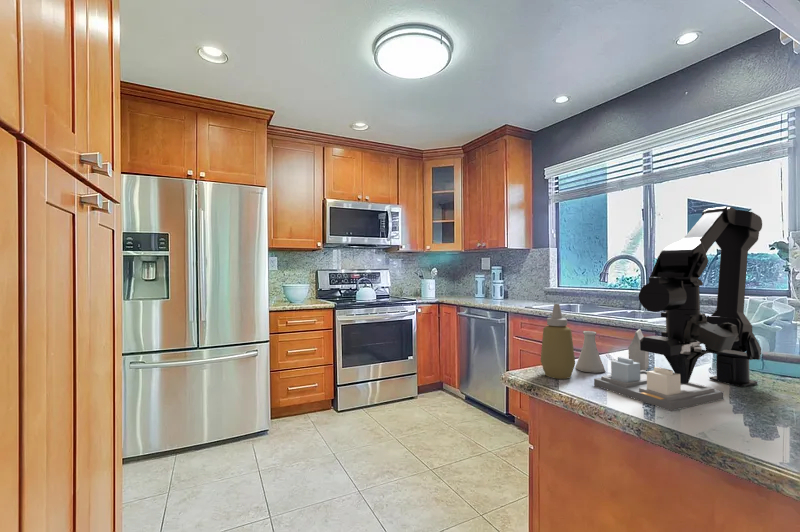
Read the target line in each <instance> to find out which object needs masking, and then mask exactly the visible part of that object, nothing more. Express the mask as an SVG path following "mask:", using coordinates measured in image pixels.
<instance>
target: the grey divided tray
mask: <svg viewBox="0 0 800 532" xmlns="http://www.w3.org/2000/svg"><path fill="white" fill-rule="evenodd" d="M647 371H648V370H647ZM647 371H645V370H640V379H641V380H638V381H633V382H627V383H625V382H622V381H618V380H615V379H612V378H611V374H610V375H603V376H600V377H596V378H594V379H593V380H594V381H593V382H594V383H593V386H595V385H596V387H598V386H599V387H598V388H601V387H602V388H601V389H604V388H605V390H607V389H608V390H607V391H610V390H611V391H610V392H613V391H614V393H616V392H617V393H616V394H619V393H620V394H619V395H622V394H623V395H622V396H625V395H626V396H625V397H628V396H629V397H628V398H631V397H632V399H634V398H635V399H634V400H638V401H640V402H643V403H646V404H649V405H652V406H654V405H655V406H654V407H657V406H658V408H660V407H661V408H660V409H663V408H664V409H663V410H667V411H668V412H669V411H670V412H673V411H677V410H682V409H686V408H690V407H695V406H700V405H705V404H708V403H713V402H717V401H721V400H724V398H725V397H724V391H721V390H718V389H716V388H714V387H712V386H707V385H703V384H699V383H695V382H691V381H689V382H688V384H682V383H681V393H679V394H674V395H669V396H668V395H665V394H662V393H658V392H655V391H652V390H648V389H647Z"/></svg>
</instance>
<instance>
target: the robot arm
mask: <svg viewBox="0 0 800 532" xmlns="http://www.w3.org/2000/svg"><path fill="white" fill-rule="evenodd" d="M762 229H763V220H762V218H761V216H760V215H759V214H756V213H755V212H754V211H748V210H742V209H737V208H734V207H730V206H720V207H713V208H712V207H711V208H707V209H704V210H703V211H702V213H701V217H700V218H699V220H698V221H697V222H696V223H695V224H694V225H693V226H692V228H691V229H690V230H689V231H688V232H687V234H686V235H685V236H684V237H683V238H682V239H681V240H679V241H676V242H673V243H671V244H668V245H667V246H666V247H665V248H664V249H662V250H661V251H660V253H659V255H658V256H657V259H656V261H655V264H654V266H653V268H652V270H651V273H650V276H649V277H648V283H646V284H644V285H643V286H642V287H641V288H640V291H639V293H638V300H639V303H640V305H641V306H642V307H643V308H644V309H645V310H647V311H649V312H655V313H656V312H657V313H658V312H660V318H663V319H664V318H665V329H666V330H665V331H660V332H661V333H660V334H661V335H659V336H658V335H649V336H644V337H643V338H642V339H641V340H640V350H641V351H646V352H649V353H652V354H657V355H661V356H664V358H665V359H666V361H667V362H668V364H669V366H670V367H671V369H672V370H673V373H677V374H680V383H682V384H688V382H690V380H691V376H692V373H693V372H694V368H695V365H696V364H697V361H698V360H699V359H700V358H701V357H702V356H704V355H706V354H714V355H715V354H716V355H715V356H716V358H715V359H716V375H714V376H713V375H712V376H708V377H709V379H708V380H711V381H715V382H720V383H724V384H728V385H732V386H736V387H740V388H743V387H747V386H752V385H758V381H757V380H753V379H750V361H752V360H756V361H757V360H758V361H759V360H761V355H762V347H761V345H760V344H759V342H758V340H757V338H756V337H755V336H756V335H754V332H753V325H752V322H750V321H749V319H748V317H747V316H746V314H745V296H746V295H745V294H746V284H747V283H746V282H747V267H748V255H749V254H748V253H749V251H750V249H751V248H752V247H753V246H754V245H755V244H756V243H757V242H758V240H759V237H760V232H761V231H762ZM714 243H716V245H717V246H718V247H719V249H720V257H719V270H718V271H719V272H718V286H717V297H716V298H717V299H716V300H717V301H716V310H715V311H714V312H713V313H712V314H711V315H706V313H702V312H701V309H700V308H701V304H700V303H701V299H700V298H701V297H700V294H701V293H700V286H703V285H704V282H703V281H702V280H701V279H700V277H701V276H702V274H703V272H704V271H705V269H706V268H707V266H708V262H709V259H708V257H707V253H708V251H709V250H710V248H711V247H712V246H713V245H714ZM702 345H704V347H705V349H703V347H702Z"/></svg>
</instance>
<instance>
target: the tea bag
mask: <svg viewBox="0 0 800 532" xmlns="http://www.w3.org/2000/svg"><path fill="white" fill-rule="evenodd" d="M643 337H645V336H644V334H643V332H642V330H641V329H640V328H639V329H637V330H636V331H635V332H634V336H633V339H632V340H631V342H630V344H629V345H628V359H631V360H633V362H637V363H640V370H645V371H646V370H647V371H648V369H649V367H650V358H649V353H650V352H646V351H641V350H640V340H641V339H642V338H643Z"/></svg>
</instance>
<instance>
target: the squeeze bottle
mask: <svg viewBox="0 0 800 532" xmlns="http://www.w3.org/2000/svg"><path fill="white" fill-rule="evenodd" d="M546 324H547V326H545V327H543V328H542V329H543V330H542V339H541V351H540V363H541V366H542V369H543V372H544V374H545V376H547V377H549V378H551V379H559V380H564V379H566V380H567V379H570V378H571V377H572V374H573V371H574V368H575V367H576V359H575V358H576V357H575V349H574V340H573V333H572V328H569V326H568V319H567V318H565V317H563V314H562V310H561V305H560V303H554V304H553V308H552V312H551V316H550V317H547V318H546Z"/></svg>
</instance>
